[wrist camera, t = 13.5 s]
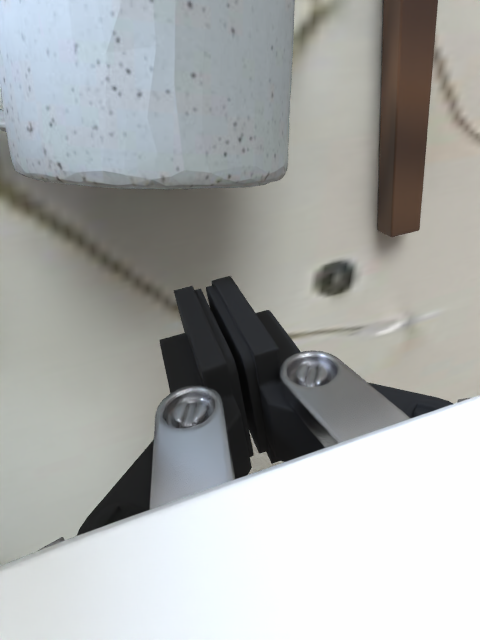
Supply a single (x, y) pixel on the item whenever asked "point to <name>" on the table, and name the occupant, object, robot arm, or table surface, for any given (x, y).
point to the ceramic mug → (147, 91)
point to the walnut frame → (404, 111)
